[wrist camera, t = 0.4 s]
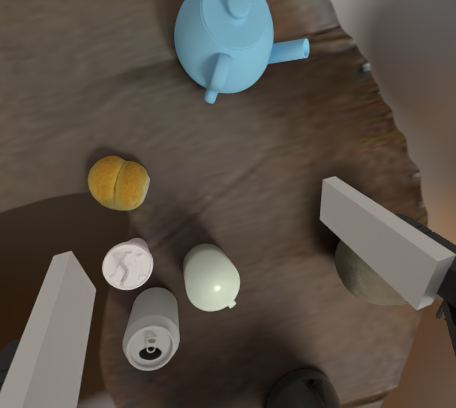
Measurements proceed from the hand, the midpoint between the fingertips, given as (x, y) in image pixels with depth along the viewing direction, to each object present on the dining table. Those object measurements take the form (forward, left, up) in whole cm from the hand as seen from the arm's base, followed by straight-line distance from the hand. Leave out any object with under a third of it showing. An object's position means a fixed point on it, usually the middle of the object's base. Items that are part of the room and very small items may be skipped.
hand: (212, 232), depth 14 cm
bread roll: (+8, +6, -32) cm, 34 cm away
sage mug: (-12, +4, -32) cm, 34 cm away
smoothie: (-2, +11, -32) cm, 34 cm away
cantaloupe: (-29, -20, -32) cm, 48 cm away
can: (-12, +15, -32) cm, 38 cm away
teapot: (+14, -22, -32) cm, 41 cm away
